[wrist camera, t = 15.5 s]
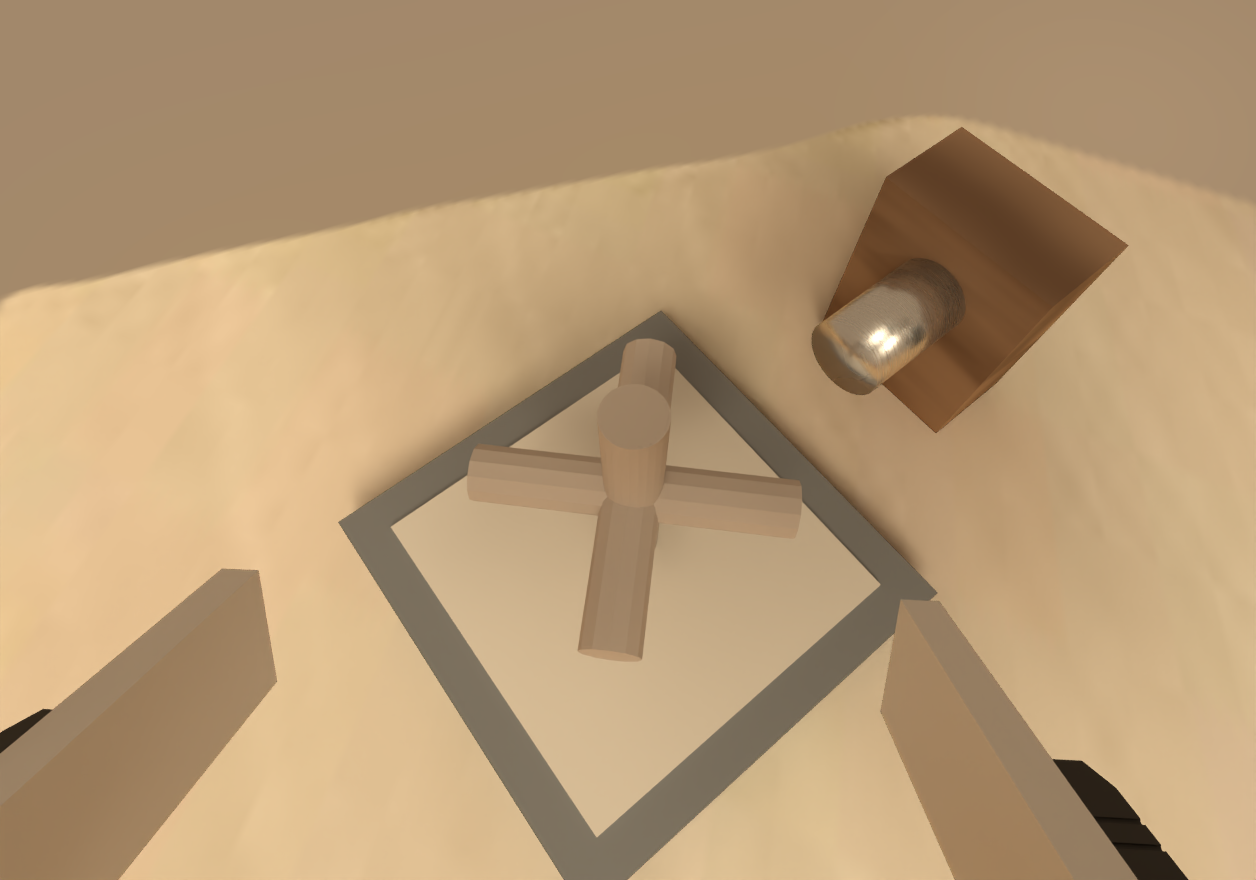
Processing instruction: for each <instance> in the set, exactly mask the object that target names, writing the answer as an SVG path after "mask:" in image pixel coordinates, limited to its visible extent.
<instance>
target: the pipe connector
mask: <svg viewBox="0 0 1256 880" xmlns="http://www.w3.org/2000/svg"><path fill="white" fill-rule="evenodd" d="M676 357H677V356H676V354H675V351H674V348H672V347H671V346H669V345H668V344H666V343H665V342H662V341H658V340H655V339H651V338H650V339H636V340H634V341H632V342H629V343H627V344H626V346H625V349H624V351H623V357H622V363H621V370H620V376H619V383H618V388H616V389H614V390H612V391H610V392H609V393H608V394H607V395H606V396H605V397H604V398H603V400H602V401H601V403H600V405H599V408H598V411H597V425H598V435H599V445H600V455H601V458H599V457H590V456H582V455H573V454H564V453H555V452H547V451H538V450H529V449H520V448H512V447H503V446H494V445H485V444H478V445H477V446H476V447H475V448H474V450H473V453H472V455H471V458H470V461H469V468H468V474H467V492H468V496H469V499H470V500H473V501H480V502H488V503H497V504H505V505H513V506H522V507H530V508H538V509H547V510H555V511H564V512H572V513H580V514H589V515H597V516H598V520H597V526H596V533H595V539H594V546H593V552H592V559H591V565H590V572H589V578H588V585H587V591H586V598H585V605H584V611H583V618H582V624H581V631H580V637H579V644H578V650H577V651H578V652H579V653H581V654H583V655H587V656H591V657H594V658H600V659H606V660H613V661H624V662H638V661H641V660H642V656H643V648H644V639H645V630H646V621H647V612H648V603H649V595H650V586H651V577H652V568H653V559H654V551H655V548H656V544H657V539H658V530H659V523H664V524H672V525H681V526H689V527H698V528H706V529H714V530H723V531H731V532H739V533H748V534H756V535H765V536H773V537H781V538H790V539H793V538H795V537H796V534H797V531H798V528H799V523H800V518H801V509H802V486H801V484H800V481H799V480H791V479H783V478H774V477H765V476H756V475H748V474H739V473H730V472H721V471H713V470H704V469H695V468H687V467H678V466H669V465H666V460H667V451H668V443H669V434H670V425H671V411H670V409H671V401H672V392H673V383H674V374H675V365H676Z"/></svg>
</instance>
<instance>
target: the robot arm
mask: <svg viewBox="0 0 1256 880" xmlns="http://www.w3.org/2000/svg"><path fill="white" fill-rule="evenodd" d="M276 682H277V678H276V672H275V666H274V660H273V654H272V648H271V642H270V636H269V630H268V624H267V618H266V612H265V606H264V600H263V594H262V588H261V582H260V577H259V571H258V570H240V569H221V570H220V571H219V572H217V573H216V574H215V575H214V576H213V577H211V578H210V579H209V580H208V581H207V582H206V583H204V584H203V585H202V586H201V587H200V588H198V589H197V590H196V591H195V592H194V593H192V594H191V595H190V596H189V597H188V598H186V599H185V600H184V601H183V602H182V603H180V604H179V605H178V606H177V607H176V608H174V609H173V610H172V611H171V612H170V613H168V614H167V615H166V616H165V617H164V618H162V619H161V620H160V621H159V622H158V623H156V624H155V625H154V626H153V627H152V628H150V629H149V630H148V631H147V632H146V633H144V634H143V635H142V636H141V637H140V638H138V639H137V640H136V641H135V642H134V643H132V644H131V645H130V646H129V647H128V648H126V649H125V650H124V651H123V652H122V653H120V654H119V655H118V656H117V657H116V658H114V659H113V660H112V661H111V662H110V663H108V664H107V665H106V666H105V667H104V668H102V669H101V670H100V671H99V672H98V673H96V674H95V675H94V676H93V677H92V678H90V679H89V680H88V681H87V682H86V683H84V684H83V685H82V686H81V687H80V688H78V689H77V690H76V691H75V692H74V693H72V694H71V695H70V696H69V697H68V698H66V699H65V700H64V701H63V702H62V703H60V704H59V705H58V706H57V707H56V708H54V709H53V710H50V709H42V710H41V711H39V712H37V713H35V714H33V715H31V716H30V717H28V718H26V719H24V720H22V721H20V722H19V723H17V724H15V725H13V726H11V727H9V728H8V729H6V730H4V731H2V732H1V733H0V880H119V878H120V877H121V876H122V875H123V873H124V872H125V871H126V870H127V868H128V867H129V866H130V865H131V863H132V862H133V861H134V860H135V858H136V857H137V856H138V855H139V853H140V852H141V851H142V850H143V848H144V847H145V846H146V845H147V843H148V842H149V841H150V840H151V838H152V837H153V836H154V835H155V833H156V832H157V831H158V830H159V828H160V827H161V826H162V825H163V823H164V822H165V821H166V820H167V818H168V817H169V816H170V815H171V813H172V812H173V811H174V810H175V808H176V807H177V806H178V805H179V803H180V802H181V801H182V799H183V798H184V797H185V796H186V794H187V793H188V792H189V791H190V789H191V788H192V787H193V786H194V784H195V783H196V782H197V781H198V779H199V778H200V777H201V776H202V774H203V773H204V772H205V771H206V769H207V768H208V767H209V766H210V764H211V763H212V762H213V761H214V759H215V758H216V757H217V756H218V754H219V753H220V752H221V751H222V749H223V748H224V747H225V746H226V744H227V743H228V742H229V741H230V739H231V738H232V737H233V736H234V734H235V733H236V732H237V731H238V729H239V728H240V727H241V726H242V724H243V723H244V722H245V721H246V719H247V718H248V717H249V716H250V714H251V713H252V712H253V711H254V709H255V708H256V707H257V706H258V704H259V703H260V702H261V701H262V699H263V698H264V697H265V696H266V694H267V693H268V692H269V691H270V689H271V688H272V687H273V686H274V684H275V683H276ZM881 714H882V716H883V718H884V721H885V723H886V725H887V727H888V730H889V732H890V734H891V736H892V739H893V741H894V743H895V746H896V748H897V750H898V752H899V755H900V757H901V759H902V761H903V764H904V766H905V768H906V770H907V773H908V775H909V777H910V779H911V782H912V784H913V786H914V789H915V791H916V793H917V795H918V798H919V800H920V802H921V804H922V807H923V809H924V811H925V813H926V816H927V818H928V820H929V822H930V825H931V827H932V829H933V832H934V834H935V836H936V838H937V841H938V843H939V845H940V847H941V850H942V852H943V854H944V856H945V859H946V861H947V863H948V866H949V868H950V870H951V872H952V875H953V877H954V879H955V880H1188V879H1187V877H1186V876H1185V875H1184V874H1183V872H1182V871H1181V870H1180V869H1179V867H1178V866H1177V865H1176V863H1175V862H1174V861H1173V860H1172V858H1171V857H1170V856H1169V855H1168V853H1167V852H1164V851H1162V849H1161V844H1160V843H1159V842H1158V841H1157V839H1156V838H1155V837H1154V836H1153V834H1152V833H1151V832H1150V830H1149V829H1148V828H1147V827H1146V825H1142V824H1141V822H1140V818H1139V817H1138V815H1137V814H1136V813H1135V811H1134V810H1133V809H1132V808H1131V806H1130V805H1129V804H1128V803H1127V801H1126V800H1125V799H1124V797H1123V796H1122V795H1121V794H1120V792H1119V791H1118V790H1117V789H1116V788H1115V787H1114V786H1113V785H1112V784H1110V783H1109V782H1108V781H1107V780H1105V779H1104V778H1103V777H1102V776H1100V775H1099V774H1098V773H1097V772H1095V771H1094V770H1093V769H1091V768H1090V767H1089V766H1088V765H1086V764H1085V763H1084V762H1083V761H1075V760H1055V759H1052V758H1051V757H1050V756H1049V754H1048V753H1047V751H1046V750H1045V749H1044V747H1043V746H1042V744H1041V743H1040V742H1039V740H1038V739H1037V737H1036V736H1035V735H1034V733H1033V732H1032V730H1031V729H1030V728H1029V726H1028V725H1027V723H1026V722H1025V721H1024V719H1023V718H1022V716H1021V715H1020V714H1019V712H1018V711H1017V709H1016V708H1015V707H1014V705H1013V704H1012V702H1011V701H1010V700H1009V698H1008V697H1007V695H1006V694H1005V693H1004V691H1003V690H1002V688H1001V687H1000V686H999V684H998V683H997V681H996V680H995V679H994V677H993V676H992V674H991V673H990V672H989V670H988V669H987V667H986V666H985V665H984V663H983V662H982V660H981V659H980V658H979V656H978V655H977V653H976V652H975V651H974V649H973V648H972V646H971V645H970V644H969V642H968V641H967V639H966V638H965V637H964V635H963V634H962V632H961V631H960V630H959V628H958V627H957V625H956V624H955V623H954V621H953V620H952V618H951V617H950V616H949V614H948V613H947V611H946V610H945V609H944V607H943V606H942V604H941V603H940V602H939V601H924V600H902V599H901V600H900V606H899V612H898V617H897V623H896V628H895V634H894V639H893V645H892V650H891V656H890V662H889V667H888V673H887V678H886V684H885V689H884V695H883V700H882V706H881Z"/></svg>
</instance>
